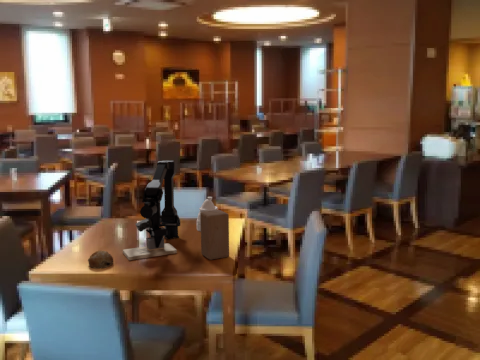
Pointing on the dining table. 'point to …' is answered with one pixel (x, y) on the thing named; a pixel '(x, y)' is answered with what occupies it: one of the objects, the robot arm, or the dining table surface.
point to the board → (148, 252)
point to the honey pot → (205, 206)
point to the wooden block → (214, 234)
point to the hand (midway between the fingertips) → (155, 246)
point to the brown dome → (100, 259)
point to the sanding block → (152, 245)
